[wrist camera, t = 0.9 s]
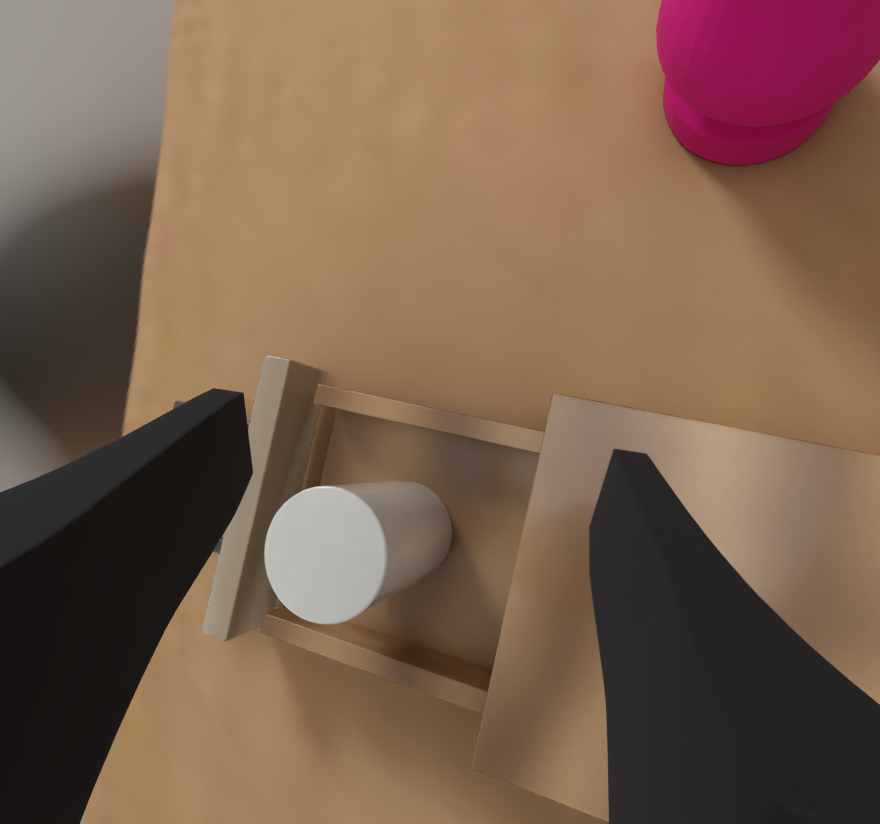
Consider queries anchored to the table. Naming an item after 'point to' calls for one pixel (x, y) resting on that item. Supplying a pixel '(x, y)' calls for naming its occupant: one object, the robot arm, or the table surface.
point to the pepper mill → (760, 70)
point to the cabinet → (728, 527)
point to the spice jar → (354, 546)
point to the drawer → (380, 460)
